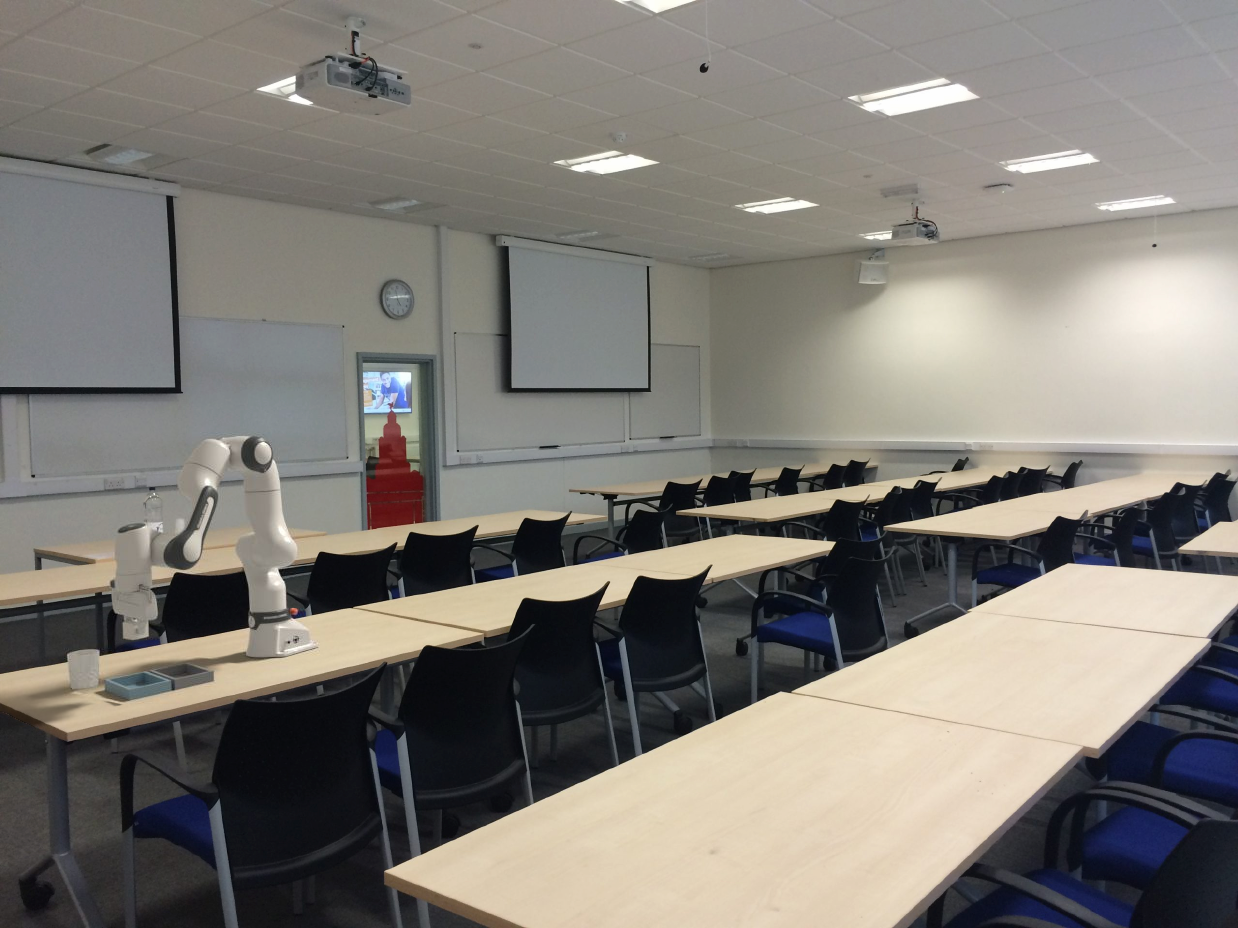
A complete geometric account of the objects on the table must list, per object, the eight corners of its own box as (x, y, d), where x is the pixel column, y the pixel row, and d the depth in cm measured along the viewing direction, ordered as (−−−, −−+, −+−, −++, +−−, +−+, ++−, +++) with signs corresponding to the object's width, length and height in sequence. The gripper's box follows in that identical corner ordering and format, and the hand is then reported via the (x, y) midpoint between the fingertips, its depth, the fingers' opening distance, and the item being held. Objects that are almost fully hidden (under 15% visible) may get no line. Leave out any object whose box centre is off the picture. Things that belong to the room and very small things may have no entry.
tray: (187, 673, 272) (187, 662, 271) (214, 682, 261) (213, 670, 261) (149, 682, 263) (149, 670, 263) (175, 691, 253) (174, 679, 253)
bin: (145, 683, 262) (145, 671, 262) (171, 692, 252) (171, 680, 252) (105, 692, 254) (104, 679, 254) (129, 702, 244) (129, 689, 243)
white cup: (64, 692, 254) (63, 657, 254) (73, 684, 262) (72, 650, 261) (96, 689, 256) (94, 654, 256) (104, 682, 264) (102, 648, 263)
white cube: (138, 634, 255) (138, 618, 255) (148, 636, 253) (148, 620, 253) (123, 638, 251) (122, 622, 251) (133, 639, 249) (132, 623, 249)
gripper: (162, 585, 247) (164, 635, 248) (130, 577, 260) (132, 625, 261) (138, 588, 243) (140, 640, 243) (106, 581, 256) (108, 629, 256)
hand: (135, 632), depth 252 cm, fingers closed on white cube, 5 cm apart
